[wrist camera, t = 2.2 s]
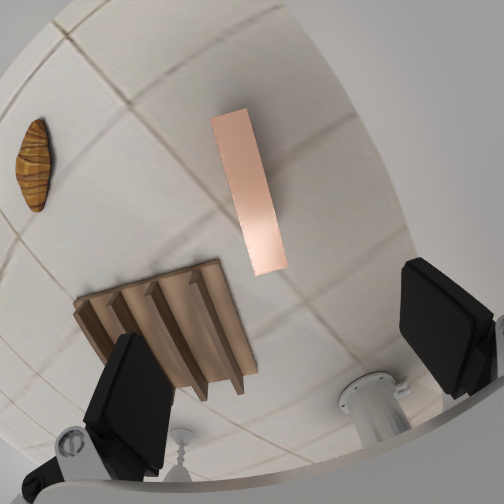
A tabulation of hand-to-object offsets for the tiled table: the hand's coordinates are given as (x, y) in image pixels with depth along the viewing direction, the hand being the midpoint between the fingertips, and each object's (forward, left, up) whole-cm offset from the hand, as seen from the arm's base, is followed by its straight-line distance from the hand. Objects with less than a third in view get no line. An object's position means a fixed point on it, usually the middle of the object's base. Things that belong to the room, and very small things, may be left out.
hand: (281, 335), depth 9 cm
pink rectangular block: (-1, -2, -27) cm, 27 cm away
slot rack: (+17, +17, -27) cm, 37 cm away
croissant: (+26, -14, -28) cm, 41 cm away
